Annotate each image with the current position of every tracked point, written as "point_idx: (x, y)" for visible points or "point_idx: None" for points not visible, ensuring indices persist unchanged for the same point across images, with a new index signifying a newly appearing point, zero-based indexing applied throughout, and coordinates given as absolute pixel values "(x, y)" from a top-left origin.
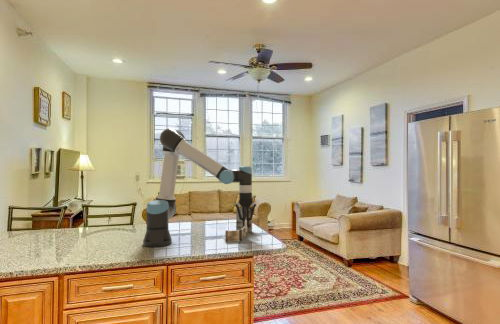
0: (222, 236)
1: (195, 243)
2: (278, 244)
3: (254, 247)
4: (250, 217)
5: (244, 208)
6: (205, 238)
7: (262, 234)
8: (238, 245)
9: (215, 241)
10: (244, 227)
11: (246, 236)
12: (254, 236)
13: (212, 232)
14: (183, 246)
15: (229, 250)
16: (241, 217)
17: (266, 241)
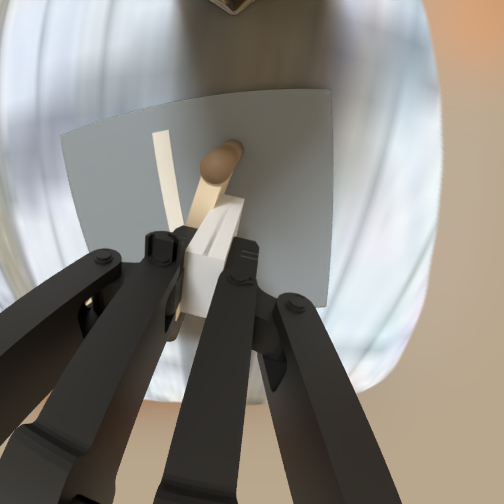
0: (64, 147)
1: (9, 272)
2: (391, 353)
3: (259, 381)
4: (269, 374)
5: (108, 500)
6: (6, 183)
7: (407, 84)
8: (181, 346)
9: (56, 253)
10: (203, 219)
11: (245, 154)
12: (320, 167)
13: (27, 25)
14: (3, 301)
15: (153, 387)
16: (105, 282)
17: (364, 301)
